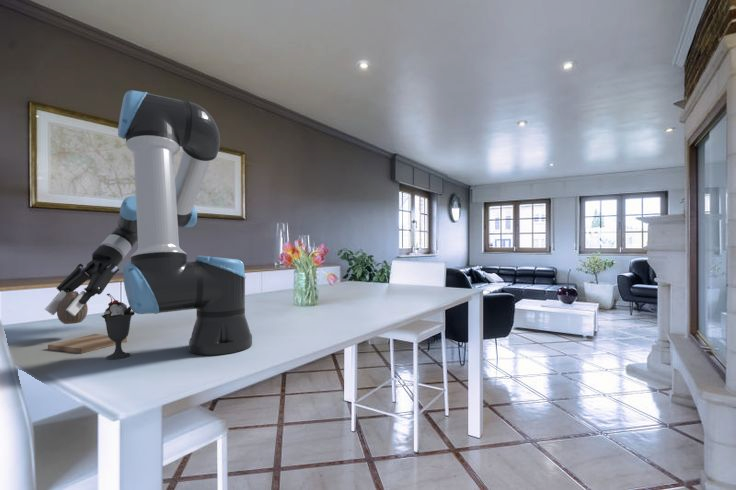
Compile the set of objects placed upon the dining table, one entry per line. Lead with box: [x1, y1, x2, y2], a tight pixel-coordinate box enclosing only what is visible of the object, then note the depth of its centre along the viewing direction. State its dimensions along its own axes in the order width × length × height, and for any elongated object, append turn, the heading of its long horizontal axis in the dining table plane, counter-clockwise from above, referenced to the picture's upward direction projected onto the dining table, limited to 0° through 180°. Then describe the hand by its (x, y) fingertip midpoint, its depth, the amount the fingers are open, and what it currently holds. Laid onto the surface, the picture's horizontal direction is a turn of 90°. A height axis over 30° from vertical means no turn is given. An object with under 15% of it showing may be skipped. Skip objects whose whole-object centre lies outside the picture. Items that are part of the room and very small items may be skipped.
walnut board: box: [47, 333, 128, 354], centre depth 101 cm, size 12×12×1 cm
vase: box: [56, 290, 89, 325], centre depth 109 cm, size 7×7×9 cm
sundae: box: [101, 293, 136, 360], centre depth 91 cm, size 7×7×15 cm
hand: (59, 312), depth 105 cm, fingers closed on vase, 7 cm apart
